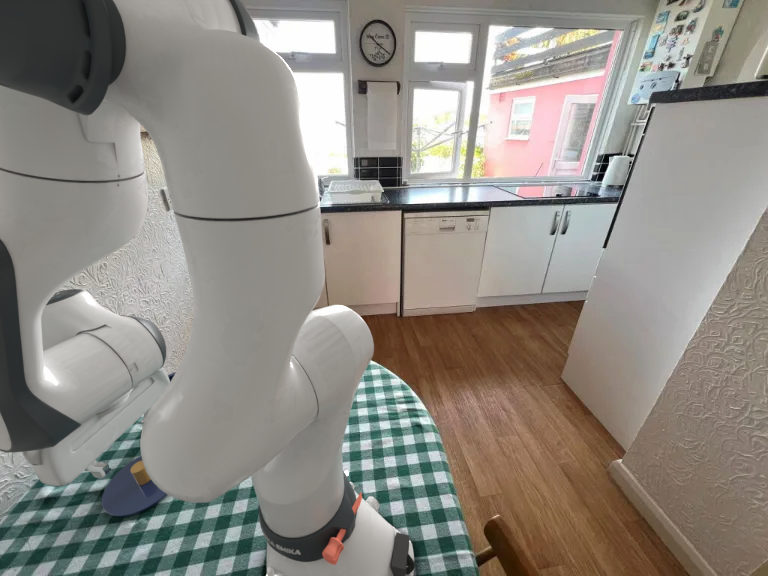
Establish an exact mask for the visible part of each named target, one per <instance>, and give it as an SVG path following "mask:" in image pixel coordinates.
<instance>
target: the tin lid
mask: <svg viewBox="0 0 768 576" xmlns="http://www.w3.org/2000/svg"><path fill="white" fill-rule="evenodd" d="M167 496H169V495H168V494H166V493H165V492H163V491H162V490H161V489H159V488H158V487H157V486H156V485H155V484H154V483H153V481H152V480H151V479H150V477H149V475H148V474H147V472H146V470H145V467H144V465H143V461H142V457H141V455H140V456H138V457H136V458H135V459H133V460H131V461H130V462H128V463H127V464H126V465H124V466H123V467H122V468H121V469H119V471H118V472H116V474H114V476H112V478H111V479H110V480H109V482H108V483H107V485H106V487H105V489H104V490H103V493H102V495H101V507H102V510H103V511H104V512H105V513H106V514H107V515H109V516H111V517H113V518H127V517H132V516H135V515H138V514H140V513H142V512H144V511H145V512H146V511H147V510H149V509H150V508H152V507H153V506H155V505H157V504H158V503H160V502H161V501H162V500H164V499H165V498H166V497H167Z"/></svg>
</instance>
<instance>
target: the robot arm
mask: <svg viewBox="0 0 768 576" xmlns="http://www.w3.org/2000/svg"><path fill="white" fill-rule="evenodd" d="M141 126H142V128H143V129H144V130H145V131H146V133H147V134H148V135H149V137H150V138H151V140H152V142H153V144H154V146H155V149H156V152H157V154H158V156H159V157H158V158H159V159H160V163H161V167H162V171H163V175H164V176H163V177H164V179H165V184H166V188H167V192H168V195H169V200H170V204H171V207H172V211H173V214H174V218H175V221H176V225H177V229H178V233H179V236H180V240H181V244H182V245H181V246H182V248H183V252H184V257H185V260H186V266H187V271H188V274H189V280H190V285H191V286H190V287H191V291H192V298H193V318H192V324H191V330H190V335H189V339H188V342H187V345H186V349H185V351H184V353H183V355H182V359H181V361H180V363H179V366H178V367H177V368H176V369H177V370H176V371H175V372H176V373H175V372H174V373H175V375H174V377H173V378H172V380H171V382H170V380H169V377H168V375H169V374H168V373H167V371H166V369H165V367H164V364H165V362H166V360H167V345H166V341H165V340H166V339H165V338H164V335H163V334H162V331H161V330H160V329H159V327H158V326H157V325H156V324H155V323H154V322H153V321H151V320H149V319H146V318H143V317H138V316H133V315H132V316H131V315H124V314H123V315H122V314H118V313H115V312H113V311H111V310H109V309H107V308H106V307H103V306H102V305H101V304H100V303H99V302H98V301H97V300H96V299H95V297H93V295H92V294H91V293H90V292H89V291H87V290H85V289H81V288H71V289H65V290H64V289H63V290H60V289H61V288H63V287H64V286H65V285H66V284H68V283H69V282H71V281H72V280H73V279H74V278H75V277H78V275H79V274H81V273H83V272H84V271H85V270H87V269H88V268H90V267H91V266H93V265H94V264H96V263H98V262H99V261H102V260H103V259H105V258H106V257H108V256H110V255H112V254H113V253H115V252H117V251H118V250H120V249H121V248H122V247H124V246H125V245H127V243H129V242H130V241H131V240H132V239H134V237H135V236H137V234H138V233H139V232H140V230H141V229H142V227H143V226H144V223H145V222H146V217H147V213H148V207H149V188H148V180H147V172H146V171H147V170H146V164H145V156H144V150H143V149H144V148H143V143H142V138H141ZM319 189H320V188H319V178H318V171H317V163H316V158H315V152H314V146H313V141H312V136H311V131H310V127H309V122H308V118H307V114H306V110H305V106H304V101H303V98H302V94H301V90H300V86H299V84H298V81H297V78H296V76H295V74H294V72H293V71H292V69H291V67H290V66H289V65H288V63H287V61H285V60H284V59H283V57H281V56H280V55H279V54H278V53H277V52H276V51H274V50H273V49H272V48H270V47H269V46H267V45H266V44H264V43H262V41H261V37H260V33H259V30H258V27H257V25H256V23H255V21H254V19H253V17H252V15H251V13H250V12H249V10H248V9H247V7H246V6H245V4H244V3H243V2H242V0H0V452H2V453H21V454H22V456H23V457H24V459H25V460H26V461H27V463H28V464H30V465H32V469H33V471H34V473H35V475H36V476H37V478H38V480H39V481H40V482H41V484H44V485H47V486H52V487H64V486H68V485H70V484H72V483H73V482H74V481H75V480H76V479H77V478H78V477H79V476H80V475H81V474H82V473H83V472H90V474H91V475H92V476H93V477H94V478H95V479H104V478H105V477H106V476H107V475H108V473H110V472H111V471H112V468H111V467H110V464H109V463H108V462H102V461H98V462H97V459H98V458H99V457H100V456H101V455H102V454H103V453H105V452H106V451H107V449H109V448H110V447H111V446H112V445H113V444H114V443H116V441H117V440H118V439H119V438H120V437H121V436H122V435H124V434H125V433H126V432H127V431H128V430H129V429H130V428H131V427H132V426H133V425H134V424H135V423H136V422H137V421H138V420H139V419H140V418H141V417H143V418H142V420H140V424H141V425H142V428H141V434H140V442H139V443H140V445H139V447H140V456H141V457H142V461H143V465H144V467H145V470H146V472H147V474H148V475H149V477H150V479H151V480H152V481H153V483H154V484H155V485H156V486H157V487H158V488H159V489H161V490H162V491H163V492H165V493H166V494H168V495H167V496H170V497H172V498H173V499H175V500H176V499H177V500H180V501H181V502H182V501H183V502H187V503H192V504H194V503H195V504H207V503H211V502H213V501H215V500H216V499H217V498H220V497H221V496H223V495H224V494H226V493H228V492H229V491H231V490H232V489H234V488H236V487H238V485H240V484H242V483H243V482H245V481H246V480H248V479H249V478H251V482H252V486H253V489H254V492H255V496H256V499H257V502H258V507H257V508H258V509H257V510H258V522H259V526H260V530H261V532H262V535H263V536H264V538H265V541H266V575H265V576H415V568H416V563H415V554H414V553H415V552H414V548H413V543H412V542H411V540H410V535H409V534H405V533H401V532H400V530H398V529H397V528H395V527H394V526H393V525H392V524H391V523H389V522H388V521H387V519H385V518H384V517H383V516H382V515H381V514H380V513H379V512H378V511H379V509H380V508H381V507H380V506H381V505H380V502H379V501H378V500H377V499H376V498H375V497H374V496H372V495H370V496H368V497H367V498H366V499H364V497H363V493H362V492H359V493H358V492H357V491H356V490H355V488H356V485H354V483H353V482H352V481H350V480H349V478H348V476H349V471H348V470H345V471H344V463H343V445H344V439H345V434H346V430H347V428H348V427H347V426H348V422H349V418H350V415H351V411H352V408H353V404H354V402H355V401H354V400H355V397H356V394H357V391H358V388H359V385H360V383H361V381H362V379H363V376H364V374H365V372H366V370H367V369H368V366H369V365H370V363H371V361H372V359H373V356H374V352H375V344H374V343H375V342H374V339H373V335H372V332H371V330H370V327H369V326H368V324H367V323H366V321H365V320H364V318H362V317H361V315H360V314H359V313H358V312H356V311H354V310H353V309H351V308H349V307H348V306H345V305H343V304H342V305H341V304H331V305H327V306H324V307H320V308H317V309H315V307H316V305H317V304H318V302H319V300H320V299H321V296H322V293H323V291H324V288H325V283H326V268H325V265H326V264H325V256H324V255H325V251H324V240H323V226H322V213H321V201H320V190H319ZM59 290H60V291H59Z"/></svg>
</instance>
